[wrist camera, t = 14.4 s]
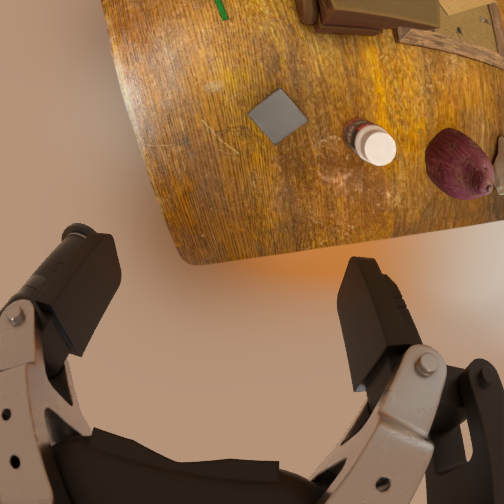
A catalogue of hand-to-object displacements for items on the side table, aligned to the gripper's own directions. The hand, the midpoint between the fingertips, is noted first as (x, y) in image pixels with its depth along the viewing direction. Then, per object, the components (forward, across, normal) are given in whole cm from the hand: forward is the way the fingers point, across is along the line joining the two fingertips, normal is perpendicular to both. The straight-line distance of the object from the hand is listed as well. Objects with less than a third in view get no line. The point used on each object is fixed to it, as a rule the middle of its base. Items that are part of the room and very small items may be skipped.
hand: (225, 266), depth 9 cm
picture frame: (+30, -27, -28) cm, 49 cm away
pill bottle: (+30, -14, -1) cm, 33 cm away
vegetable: (+30, -30, -1) cm, 43 cm away
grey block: (+30, -2, -2) cm, 30 cm away
